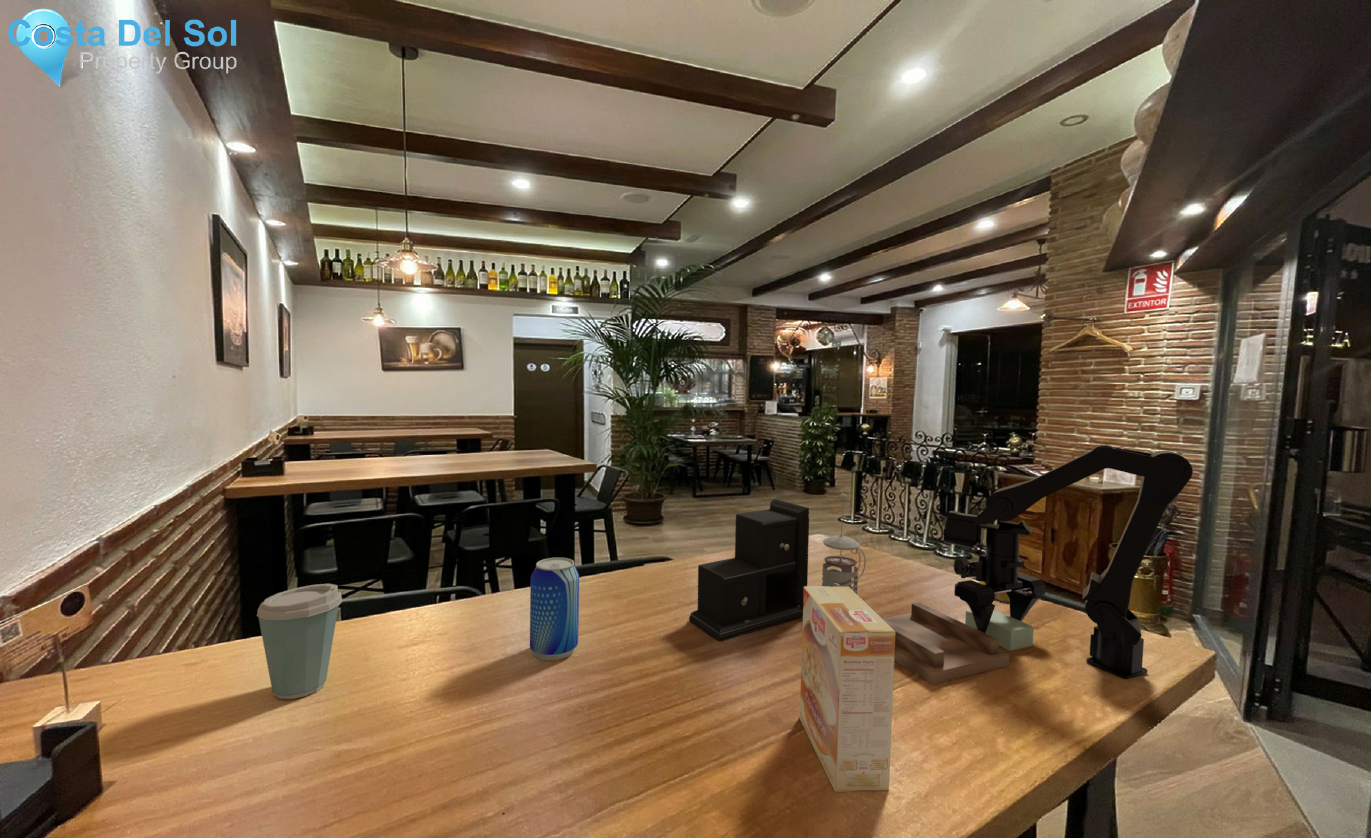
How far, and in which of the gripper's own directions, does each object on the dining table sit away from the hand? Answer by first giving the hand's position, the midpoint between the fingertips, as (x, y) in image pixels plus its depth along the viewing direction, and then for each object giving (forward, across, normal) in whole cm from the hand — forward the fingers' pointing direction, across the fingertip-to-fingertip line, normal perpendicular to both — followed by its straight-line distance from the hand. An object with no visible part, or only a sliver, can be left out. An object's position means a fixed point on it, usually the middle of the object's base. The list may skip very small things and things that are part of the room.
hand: (998, 630), depth 106 cm
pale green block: (+2, 0, 0) cm, 2 cm away
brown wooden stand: (+1, +18, -1) cm, 18 cm away
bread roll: (+2, -21, -16) cm, 27 cm away
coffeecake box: (+2, +52, +17) cm, 55 cm away
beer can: (+1, +83, -23) cm, 86 cm away
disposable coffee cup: (+1, +121, -24) cm, 123 cm away
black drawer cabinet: (+2, +43, -24) cm, 49 cm away
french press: (+1, +18, -25) cm, 31 cm away
